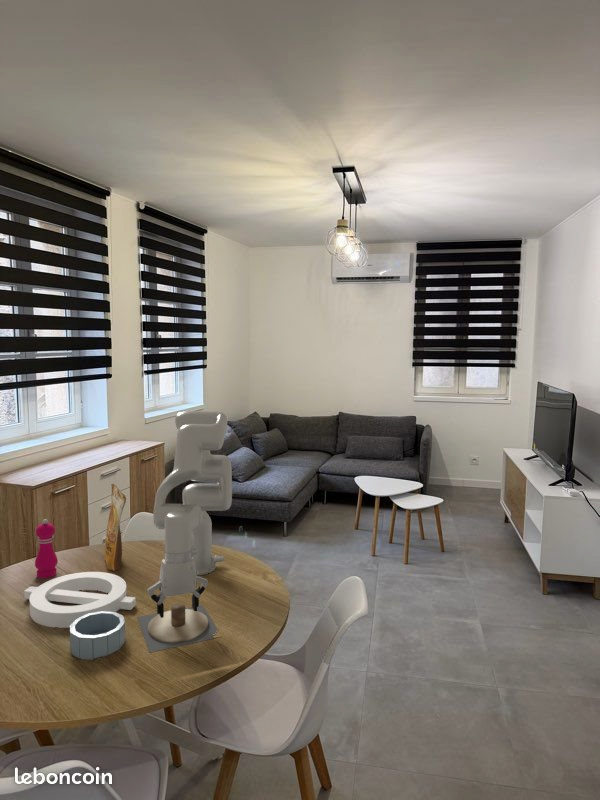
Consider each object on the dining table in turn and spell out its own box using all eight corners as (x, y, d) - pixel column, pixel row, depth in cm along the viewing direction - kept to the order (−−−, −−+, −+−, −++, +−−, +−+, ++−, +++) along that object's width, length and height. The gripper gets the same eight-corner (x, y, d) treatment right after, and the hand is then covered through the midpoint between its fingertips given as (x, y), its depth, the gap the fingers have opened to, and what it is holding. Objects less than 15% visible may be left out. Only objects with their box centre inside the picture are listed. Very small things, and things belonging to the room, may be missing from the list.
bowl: (120, 627, 160) (120, 607, 159) (127, 652, 147) (127, 631, 147) (69, 637, 154) (68, 617, 153) (72, 664, 142) (71, 642, 141)
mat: (202, 606, 173) (202, 604, 173) (221, 638, 155) (221, 636, 155) (137, 618, 165) (137, 617, 165) (149, 654, 147) (149, 652, 147)
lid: (199, 607, 171) (199, 589, 171) (215, 634, 156) (215, 614, 155) (143, 618, 164) (143, 599, 163) (154, 648, 149) (154, 627, 148)
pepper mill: (61, 570, 196) (60, 516, 194) (50, 579, 189) (49, 523, 187) (42, 569, 197) (41, 515, 195) (30, 578, 190) (29, 522, 188)
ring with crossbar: (22, 599, 176) (21, 584, 175) (111, 578, 192) (110, 565, 192) (40, 639, 153) (39, 622, 153) (139, 611, 170) (138, 597, 169)
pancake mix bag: (121, 551, 215) (120, 481, 211) (127, 571, 197) (126, 495, 194) (103, 554, 212) (101, 483, 209) (107, 574, 195) (106, 496, 191)
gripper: (204, 546, 164) (203, 601, 166) (144, 554, 157) (145, 612, 159) (211, 555, 158) (210, 612, 159) (149, 564, 150) (149, 624, 152)
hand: (178, 612), depth 159 cm, fingers open, 9 cm apart
